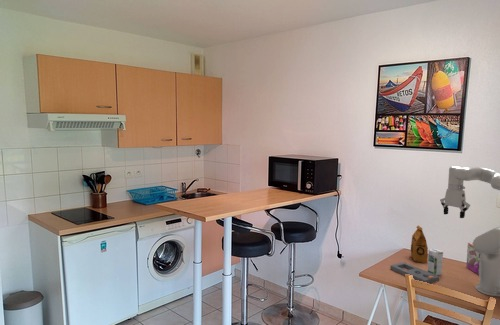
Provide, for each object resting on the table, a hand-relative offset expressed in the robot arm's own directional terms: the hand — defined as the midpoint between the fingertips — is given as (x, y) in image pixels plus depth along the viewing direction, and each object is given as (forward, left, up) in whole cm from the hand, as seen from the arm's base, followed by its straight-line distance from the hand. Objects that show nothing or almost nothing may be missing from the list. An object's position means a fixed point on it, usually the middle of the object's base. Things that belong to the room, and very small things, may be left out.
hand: (453, 216), depth 198 cm
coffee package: (+25, -5, -36) cm, 45 cm away
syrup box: (+6, +6, -36) cm, 37 cm away
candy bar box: (-3, -20, -36) cm, 42 cm away
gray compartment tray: (+10, +19, -36) cm, 42 cm away
